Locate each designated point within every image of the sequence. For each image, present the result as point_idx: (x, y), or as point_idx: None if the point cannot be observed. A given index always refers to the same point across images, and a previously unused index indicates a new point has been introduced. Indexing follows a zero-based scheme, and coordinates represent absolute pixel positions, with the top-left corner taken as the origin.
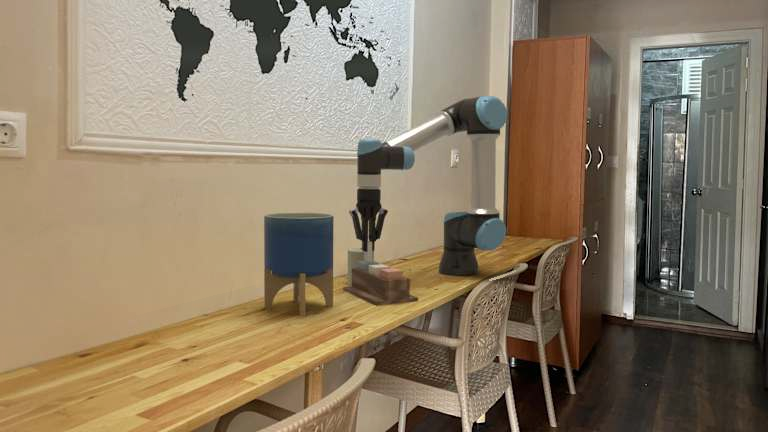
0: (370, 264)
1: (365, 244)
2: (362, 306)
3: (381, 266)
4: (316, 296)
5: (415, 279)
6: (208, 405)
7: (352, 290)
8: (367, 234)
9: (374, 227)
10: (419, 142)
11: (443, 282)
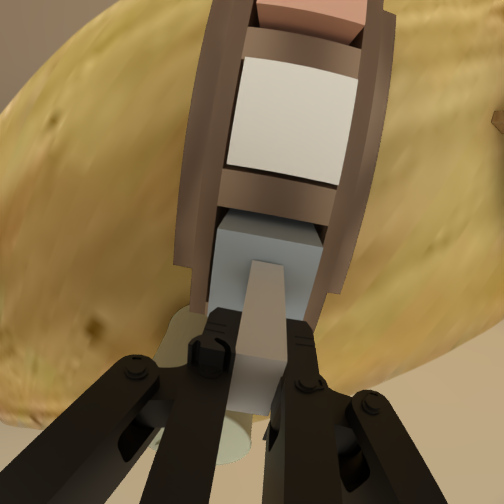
0: (280, 236)
1: (300, 360)
2: (433, 43)
3: (294, 94)
4: (458, 253)
5: (43, 281)
6: None
7: (357, 219)
8: (294, 435)
9: (160, 500)
10: None
11: (4, 202)
